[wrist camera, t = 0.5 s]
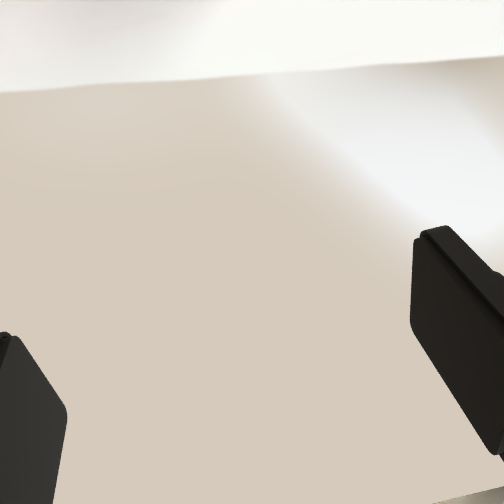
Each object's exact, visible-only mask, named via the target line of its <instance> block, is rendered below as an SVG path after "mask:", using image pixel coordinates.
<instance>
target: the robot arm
mask: <svg viewBox="0 0 504 504" xmlns="http://www.w3.org/2000/svg"><path fill="white" fill-rule="evenodd" d="M412 263H413V264H412V284H411V305H410V324H411V328H412V331H413V333H414V335H415V336H416V338H417V339H418V341H419V343H420V344H421V346H422V347H423V349H424V350H425V352H426V354H427V355H428V357H429V358H430V360H431V361H432V363H433V365H434V366H435V368H436V369H437V371H438V372H439V374H440V375H441V377H442V379H443V380H444V382H445V383H446V385H447V387H448V388H449V390H450V391H451V393H452V394H453V396H454V398H455V399H456V401H457V402H458V404H459V405H460V407H461V408H462V410H463V412H464V413H465V415H466V416H467V418H468V419H469V421H470V423H471V424H472V426H473V427H474V429H475V430H476V432H477V434H478V435H479V437H480V438H481V440H482V442H483V443H484V445H485V446H486V448H487V449H488V451H489V452H490V453H491V454H493V455H498V454H499V455H500V457H501V458H502V460H503V461H504V276H503V275H501V274H500V273H498V272H495V271H493V270H492V269H491V268H490V267H489V266H488V265H487V264H486V263H485V262H484V261H483V260H482V259H481V258H480V257H479V256H478V255H477V254H476V253H475V252H474V251H473V250H472V249H471V248H470V247H469V246H468V245H467V244H466V243H465V242H464V241H463V240H462V239H461V238H460V237H459V236H458V235H457V234H456V233H455V232H454V231H453V230H452V229H451V228H450V227H449V226H446V225H445V226H440V227H436V228H432V229H428V230H424V231H422V232H421V234H420V238H417V239H415V240H414V243H413V262H412ZM66 424H67V412H66V408H65V406H64V404H63V403H62V401H61V400H60V398H59V397H58V395H57V393H56V392H55V390H54V389H53V387H52V386H51V384H50V383H49V381H48V380H47V378H46V377H45V375H44V374H43V372H42V371H41V369H40V368H39V367H38V365H37V363H36V362H35V360H34V359H33V357H32V356H31V354H30V353H29V352H28V350H27V349H26V347H25V345H24V344H23V343H22V341H21V339H19V337H17V336H11V335H10V334H9V333H7V332H0V504H53V499H54V493H55V487H56V482H57V476H58V470H59V465H60V459H61V453H62V448H63V442H64V436H65V430H66ZM434 504H504V486H503V487H500V488H495V489H491V490H487V491H483V492H479V493H474V494H471V495H466V496H462V497H458V498H454V499H450V500H446V501H442V502H438V503H434Z"/></svg>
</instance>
